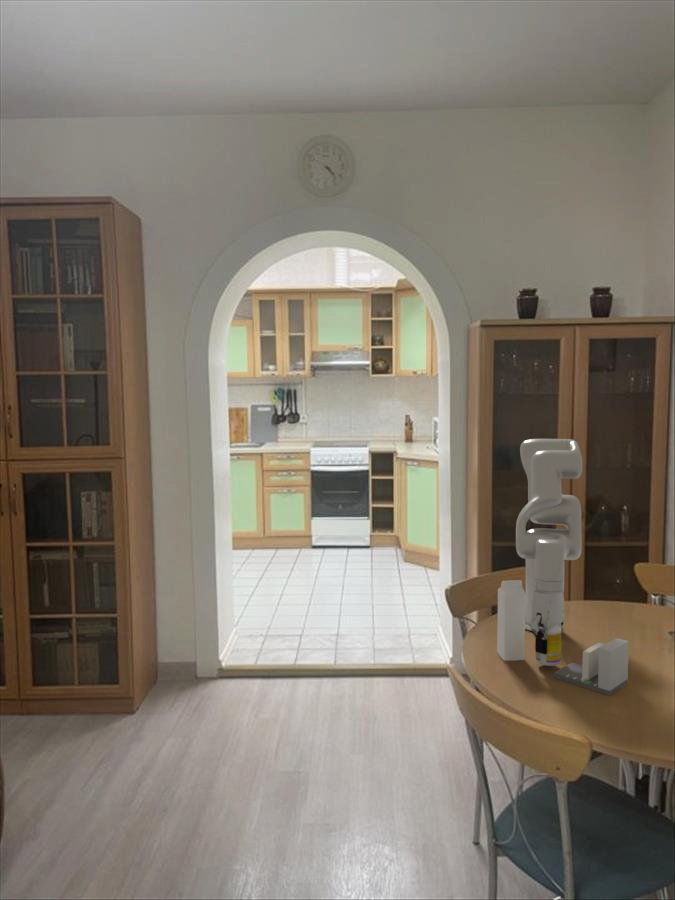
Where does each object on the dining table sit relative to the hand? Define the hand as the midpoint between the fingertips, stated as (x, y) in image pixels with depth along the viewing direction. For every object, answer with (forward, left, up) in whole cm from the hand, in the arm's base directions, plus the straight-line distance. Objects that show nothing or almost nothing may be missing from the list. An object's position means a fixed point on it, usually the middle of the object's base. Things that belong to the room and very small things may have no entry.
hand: (548, 648), depth 181 cm
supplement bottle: (0, 0, -4) cm, 4 cm away
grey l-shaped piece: (+12, 0, -5) cm, 13 cm away
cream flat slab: (+13, -1, -3) cm, 13 cm away
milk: (-11, -1, -5) cm, 12 cm away
